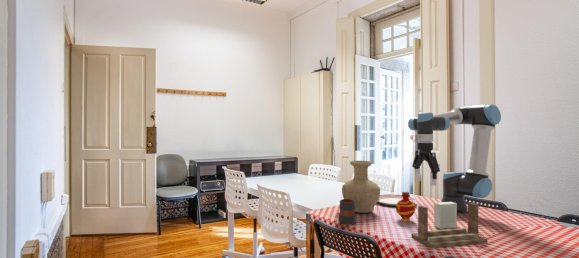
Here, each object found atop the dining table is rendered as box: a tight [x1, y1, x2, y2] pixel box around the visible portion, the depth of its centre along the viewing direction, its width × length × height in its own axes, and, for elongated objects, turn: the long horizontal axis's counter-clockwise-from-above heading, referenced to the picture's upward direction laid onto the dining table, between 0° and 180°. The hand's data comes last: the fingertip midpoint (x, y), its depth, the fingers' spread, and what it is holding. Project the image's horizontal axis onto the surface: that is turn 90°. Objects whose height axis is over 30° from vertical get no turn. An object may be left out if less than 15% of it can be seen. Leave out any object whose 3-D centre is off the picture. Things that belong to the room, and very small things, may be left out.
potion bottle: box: [395, 191, 417, 222], centre depth 176 cm, size 10×10×15 cm
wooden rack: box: [411, 202, 488, 249], centre depth 145 cm, size 28×14×16 cm, turn 103°
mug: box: [338, 198, 356, 226], centre depth 173 cm, size 9×12×12 cm
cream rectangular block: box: [433, 201, 458, 230], centre depth 164 cm, size 10×4×12 cm, turn 103°
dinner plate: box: [377, 193, 417, 207], centre depth 217 cm, size 28×27×3 cm
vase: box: [341, 160, 381, 214], centre depth 194 cm, size 22×22×30 cm
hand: (425, 183), depth 168 cm, fingers open, 13 cm apart
